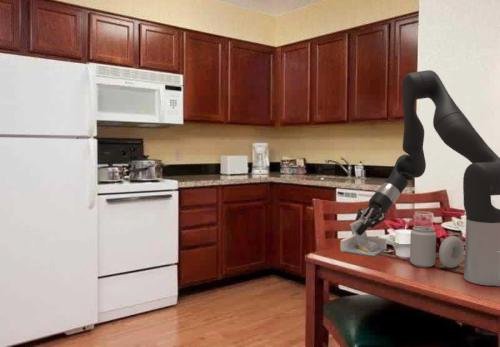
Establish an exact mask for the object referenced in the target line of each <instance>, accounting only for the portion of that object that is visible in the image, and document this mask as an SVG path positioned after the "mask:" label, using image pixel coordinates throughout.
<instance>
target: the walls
mask: <svg viewBox="0 0 500 347" xmlns="http://www.w3.org/2000/svg"><path fill="white" fill-rule="evenodd" d="M367 237H368V241H371V242H374V243H377V245H378V248H382V249H385V251H386V250H387V246H388V245H387V244H388V243H387V241H388V238H384V237H377V236H376V237H375V236H368V235H367ZM339 245H340V247H339V248H340V252H341V253H342V252H343V253H345V252H344V250H346V249H348V248H350V247H352V246H354V245H355V242H354V238H353V234H352V235H351V236H350V235H349V236H347V237H345V238H343V239H340V244H339Z"/></svg>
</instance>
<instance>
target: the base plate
mask: <svg viewBox="0 0 500 347" xmlns="http://www.w3.org/2000/svg"><path fill="white" fill-rule="evenodd" d="M384 250H385V249H382V248H376V249H374V250H372V251H370V252H365V251H363V250H360V249H357V248H356V246H355V245H354V246H352V247H350V248H348V249H346V250H344V252H343V253H347V254H354V255H355V254H356V255H361V256H366V257H373V258H374V257H375V256H377V255H380V254H381V253H384V252H385V251H386V250H385V251H384Z"/></svg>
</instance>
